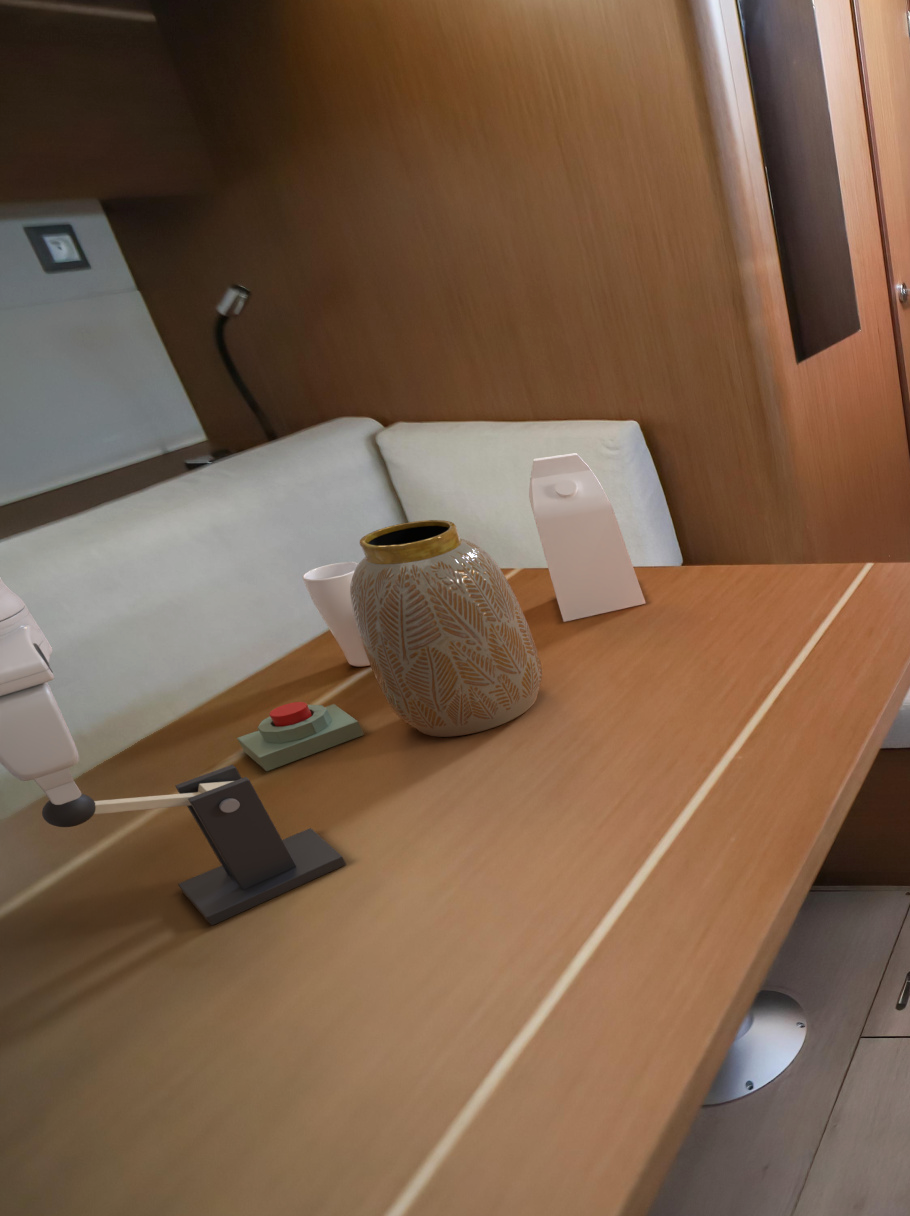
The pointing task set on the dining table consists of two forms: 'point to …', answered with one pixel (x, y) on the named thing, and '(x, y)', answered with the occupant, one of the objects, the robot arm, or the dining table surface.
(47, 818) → the lever switch
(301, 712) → the power button
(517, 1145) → the dining table surface
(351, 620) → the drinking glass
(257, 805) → the lever on stand
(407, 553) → the vase
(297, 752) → the green button base
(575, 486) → the milk
